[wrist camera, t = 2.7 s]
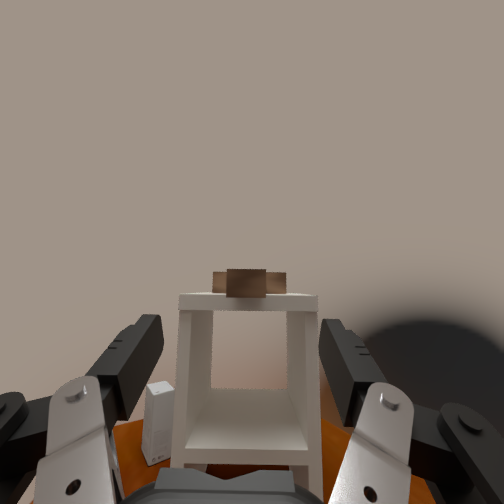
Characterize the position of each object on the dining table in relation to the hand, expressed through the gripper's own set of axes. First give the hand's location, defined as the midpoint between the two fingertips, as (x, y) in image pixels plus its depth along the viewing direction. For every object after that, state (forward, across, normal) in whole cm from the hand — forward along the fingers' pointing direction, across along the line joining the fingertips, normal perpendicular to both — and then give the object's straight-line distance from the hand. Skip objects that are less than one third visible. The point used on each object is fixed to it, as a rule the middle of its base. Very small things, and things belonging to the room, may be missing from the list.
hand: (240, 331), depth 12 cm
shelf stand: (+10, 0, +39) cm, 41 cm away
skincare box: (+19, +17, +45) cm, 52 cm away
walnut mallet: (+20, 0, +10) cm, 22 cm away
